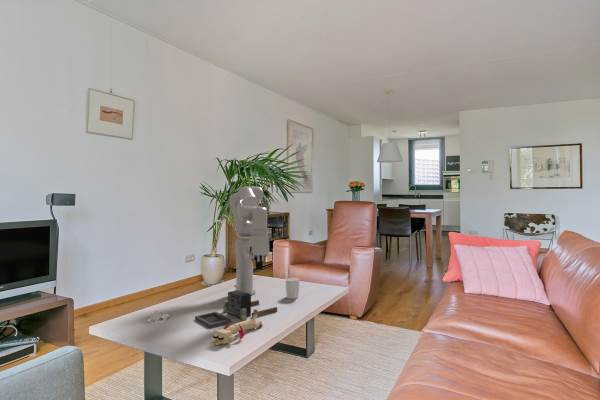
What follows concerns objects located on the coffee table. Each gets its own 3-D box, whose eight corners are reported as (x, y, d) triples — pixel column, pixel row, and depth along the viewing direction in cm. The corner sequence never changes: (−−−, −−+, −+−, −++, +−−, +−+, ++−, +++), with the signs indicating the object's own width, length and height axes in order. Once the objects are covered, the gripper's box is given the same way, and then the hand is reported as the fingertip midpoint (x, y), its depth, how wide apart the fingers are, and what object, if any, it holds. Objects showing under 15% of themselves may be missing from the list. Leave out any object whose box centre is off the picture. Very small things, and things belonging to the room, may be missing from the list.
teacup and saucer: (169, 317, 163) (169, 308, 163) (166, 323, 156) (166, 313, 156) (149, 318, 162) (149, 309, 162) (145, 324, 154) (145, 315, 154)
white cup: (283, 296, 198) (283, 278, 198) (296, 294, 202) (296, 277, 201) (288, 299, 191) (288, 281, 191) (301, 298, 194) (301, 280, 194)
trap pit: (194, 319, 159) (194, 316, 159) (215, 314, 166) (215, 311, 166) (210, 328, 148) (210, 324, 148) (231, 322, 155) (231, 319, 155)
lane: (223, 311, 170) (223, 301, 170) (257, 303, 184) (257, 294, 184) (242, 321, 157) (242, 309, 157) (277, 311, 171) (277, 301, 171)
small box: (251, 315, 165) (252, 293, 165) (240, 319, 160) (240, 296, 160) (238, 310, 172) (238, 289, 172) (227, 313, 167) (227, 291, 167)
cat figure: (248, 327, 154) (205, 342, 132) (249, 306, 154) (206, 318, 133) (266, 331, 149) (224, 348, 127) (267, 310, 149) (226, 323, 128)
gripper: (267, 230, 182) (266, 266, 182) (242, 232, 172) (242, 270, 172) (276, 232, 176) (275, 268, 176) (251, 234, 166) (250, 272, 166)
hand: (259, 269), depth 174 cm, fingers closed
